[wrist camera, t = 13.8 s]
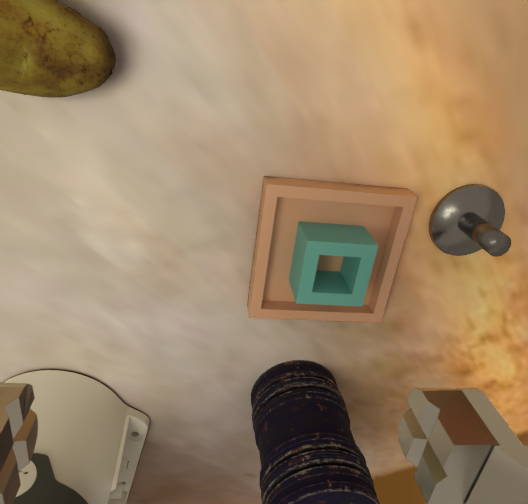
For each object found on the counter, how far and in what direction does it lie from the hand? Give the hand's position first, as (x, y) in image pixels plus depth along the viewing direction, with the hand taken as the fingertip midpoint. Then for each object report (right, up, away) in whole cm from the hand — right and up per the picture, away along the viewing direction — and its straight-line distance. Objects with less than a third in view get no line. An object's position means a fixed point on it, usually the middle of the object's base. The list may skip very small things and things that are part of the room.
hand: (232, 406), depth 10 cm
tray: (+6, +4, +32) cm, 33 cm away
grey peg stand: (+20, +6, +32) cm, 38 cm away
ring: (+6, +3, +31) cm, 32 cm away
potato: (-16, +19, +22) cm, 33 cm away
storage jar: (+4, -12, +40) cm, 42 cm away
